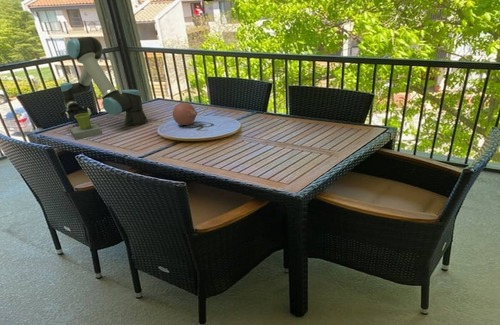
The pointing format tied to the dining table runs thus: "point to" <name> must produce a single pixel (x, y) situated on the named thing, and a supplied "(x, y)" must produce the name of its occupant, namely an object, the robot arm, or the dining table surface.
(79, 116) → the plant pot
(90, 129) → the block
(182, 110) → the brown egg-shaped ball
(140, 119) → the robot arm
